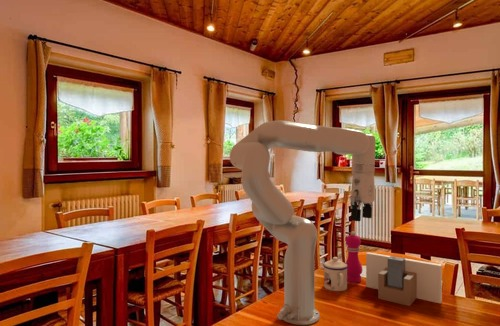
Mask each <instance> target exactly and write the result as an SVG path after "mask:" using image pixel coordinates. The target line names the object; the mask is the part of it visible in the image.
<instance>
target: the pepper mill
mask: <svg viewBox="0 0 500 326" xmlns="http://www.w3.org/2000/svg"><path fill="white" fill-rule="evenodd" d="M361 243H362V241H361V238H360V236H358V235H356V232H355V231H350V234H349V235H348V236H347V237H346V238H345V244H346V251H347V258H346V261H345V263H346V264H347V266H348V268H347V283H348V282H349V283H353V284H354V283H360V282H362V275H361V274H362V273H363V266H362V263H361V261H360V259H359V252H360V248H361V247H360V246H361Z"/></svg>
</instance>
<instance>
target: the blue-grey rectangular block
mask: <svg viewBox="0 0 500 326" xmlns="http://www.w3.org/2000/svg"><path fill="white" fill-rule="evenodd" d="M389 256H390V257H389V258H388V287H392V288H397V289H403V278H405V258H406V257H400V258H399V256H394V255H389ZM393 256H394V257H393Z"/></svg>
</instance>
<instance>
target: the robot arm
mask: <svg viewBox="0 0 500 326" xmlns="http://www.w3.org/2000/svg"><path fill="white" fill-rule="evenodd" d="M272 148H273V149H275V148H276V149H277V148H279V149H286V150H296V151H302V152H303V151H304V152H311V153H312V152H313V153H325V152H331V153H332V152H333V153H334V154H336V155H339V156H340V155H341V156H346V155H350V156H351V155H352V156H351V164H352V165H351V174H352V179H351V188H350V189H351V190H350V196H349V200H350V221H353V222H361V220H362V219H361V218H365V219H372V218H373V217H372V216H373V202H375V200H376V199H375V198H376V197H375V195H376V193H375V192H376V191H375V190H376V189H375V176H374V175H375V170H376V169H375V164H376V163H375V162H376V136H375V135H373V134H369V133H366V132H363V131H362V130H357V129H356V130H355V129H350V128H343V127H334V126H332V127H331V126H325V125H314V124H308V123H303V122H302V123H301V122H295V121H290V120H289V121H288V120H281V119H279V120H272V121H271V120H270V121H265V122H263V123H261V124H260V125H258V126H257V127H255V129H253V130H252V131H251V132H249V133H248V134H247V135H246V136H244V137H243V138H242V139H240V140H239V141H238V142H237V143H235V144H234V145H233V147H232V148H231V150H230V153H229V161H230V163H231V165H232V166H233V167H235V168H236V169H238V170H241V185H242V189H243V191H244V194H245V195H246V196H247V197H248V199H249V200H250V201H251V212H252V214H253V216H254V217H255V218H256V219H257V221H258V222H259V224H261V225H262V227H264V228H265V229H266V231H268V232H269V234H271V235H272V237H274V238H275V239H276V240H277V241H280V242H283V243H285V244H286V245H287V247H286V251H285V254H284V259H283V270H284V271H283V273H284V275H283V276H284V277H283V278H284V281H283V282H284V284H283V285H284V286H283V287H284V288H283V289H284V292H283V293H284V298H283V299H284V304H283V307H282V308H280V310H279V312H278V313H277V315H276V316H277V317H276V318H278V320H280V321H282V320H283V321H284V322H285V323H289V324H291V325H299V326H305V325H306V326H307V325H311V324H314V323H316V322H318V321H319V320H320V318H321V316H320V311H318V309H316V308H315V295H316V294H315V291H316V290H315V287H316V286H315V257H316V256H315V255H316V254H315V252H316V246H317V241H318V229H317V228H316V225H315V224H314V223H313V222H312V221H311V220H309V219H308V218H305V217H301V216H298V215H294V214H295V211H294V207H293V204H292V202H291V201H290V200H289V199H288V198H287V197H286V196H285V194H284V193H283V192H282V191H281V190H280V189H279V188H278V187H277V186H276V185H275V182H273V180H272V179H271V177H270V175H269V174H270V173H269V167H270V162H271V156H270V155H271V154H270V151H269V150H270V149H272ZM362 204H363V206H362ZM361 206H362V209H361ZM361 213H362V215H361Z"/></svg>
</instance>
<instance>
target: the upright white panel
mask: <svg viewBox="0 0 500 326" xmlns="http://www.w3.org/2000/svg"><path fill="white" fill-rule="evenodd" d="M390 256H391V255H386V254H383V253H382V254H380V253H374V252H366V253H365V257H366V258H365V260H366V261H365V262H366V263H365V267H366V268H365V270H366V271H365V272H366V273H365V277H366V278H365V279H366V281H365V282H366V283H365V285H366V288H369V289H370V288H371V289H375V290H378V291H377V292H378V293H377V295H378V296H377V297H378V299H379V300H382V301H383V300H384V301H387V302H392V303H395V304H400V305H403V306H408V307H409V306H411V305H412V304H413V303H414V302H415V300H416V299H418V300H423V301H428V302H432V303H436V304H442V301H443V297H442V295H443V291H442V290H443V287H442V286H443V264H441V263H435V262H430V261H424V260H423V261H422V260H416V259H410V258H406V257H404V258H405V278H403V289H397V288H392V287H388V258H389V257H390ZM392 256H393V257H395V256H394V255H392ZM398 257H399V256H398ZM399 258H401V257H399Z"/></svg>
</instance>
